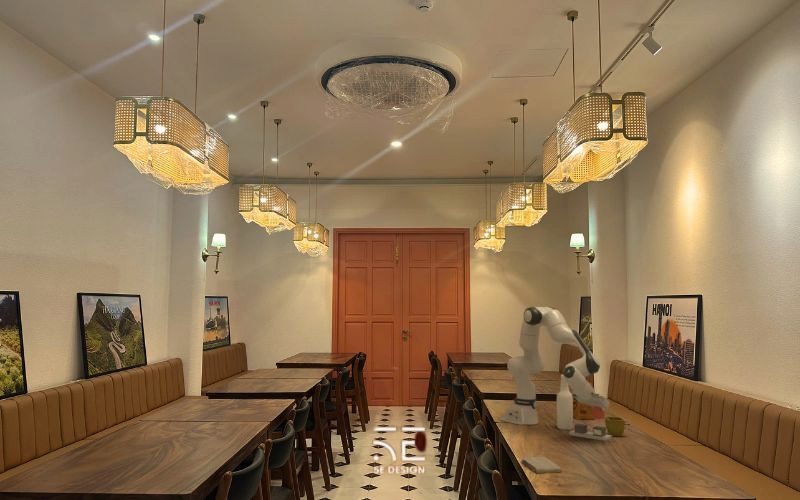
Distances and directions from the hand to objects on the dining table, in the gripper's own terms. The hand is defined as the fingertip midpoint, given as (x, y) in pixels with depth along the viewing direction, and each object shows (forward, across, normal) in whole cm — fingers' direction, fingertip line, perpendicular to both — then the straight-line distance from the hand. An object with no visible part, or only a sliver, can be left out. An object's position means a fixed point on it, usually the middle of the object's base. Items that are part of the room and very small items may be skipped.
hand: (599, 409), depth 297 cm
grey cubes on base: (+8, +5, +12) cm, 16 cm away
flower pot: (+19, +2, +2) cm, 20 cm away
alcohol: (+9, +25, +12) cm, 29 cm away
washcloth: (-34, -29, +56) cm, 72 cm away
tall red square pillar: (+3, 0, +4) cm, 4 cm away
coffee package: (+31, +42, -10) cm, 53 cm away
